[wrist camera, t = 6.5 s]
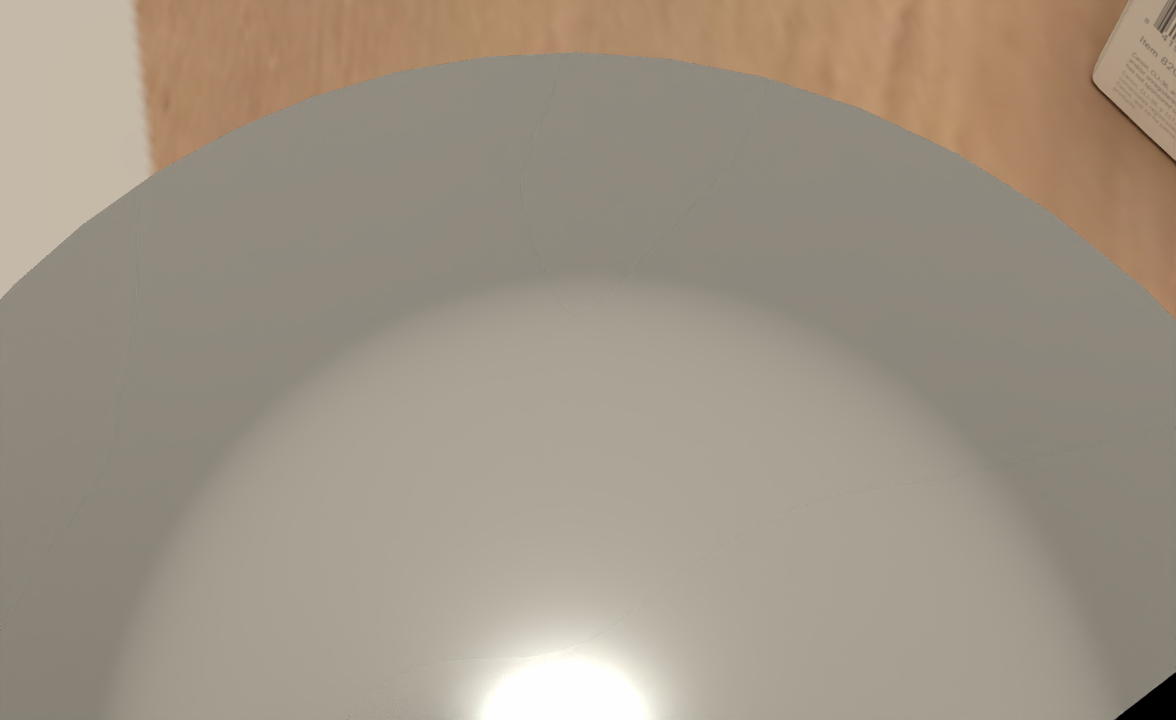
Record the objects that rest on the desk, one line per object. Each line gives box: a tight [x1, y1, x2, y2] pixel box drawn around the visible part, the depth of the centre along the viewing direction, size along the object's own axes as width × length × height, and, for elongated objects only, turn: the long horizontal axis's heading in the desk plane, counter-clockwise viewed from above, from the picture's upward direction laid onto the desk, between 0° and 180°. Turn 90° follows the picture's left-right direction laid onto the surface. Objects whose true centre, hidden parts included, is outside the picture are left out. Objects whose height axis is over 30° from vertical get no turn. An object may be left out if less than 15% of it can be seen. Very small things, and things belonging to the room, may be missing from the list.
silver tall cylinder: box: [0, 52, 1176, 720], centre depth 9 cm, size 4×4×14 cm
